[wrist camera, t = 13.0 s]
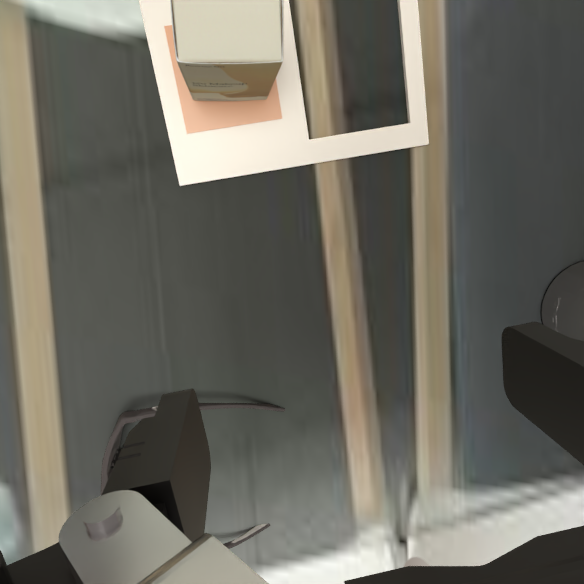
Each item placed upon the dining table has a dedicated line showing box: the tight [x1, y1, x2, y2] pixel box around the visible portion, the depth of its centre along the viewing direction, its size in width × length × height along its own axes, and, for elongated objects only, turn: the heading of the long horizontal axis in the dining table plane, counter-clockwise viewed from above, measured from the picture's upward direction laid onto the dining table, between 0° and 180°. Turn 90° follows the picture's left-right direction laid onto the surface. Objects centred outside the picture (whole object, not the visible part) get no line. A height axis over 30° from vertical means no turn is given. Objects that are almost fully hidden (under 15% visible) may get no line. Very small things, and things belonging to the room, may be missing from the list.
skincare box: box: [170, 0, 284, 101], centre depth 30 cm, size 6×4×12 cm
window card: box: [139, 0, 429, 186], centre depth 36 cm, size 22×20×1 cm
